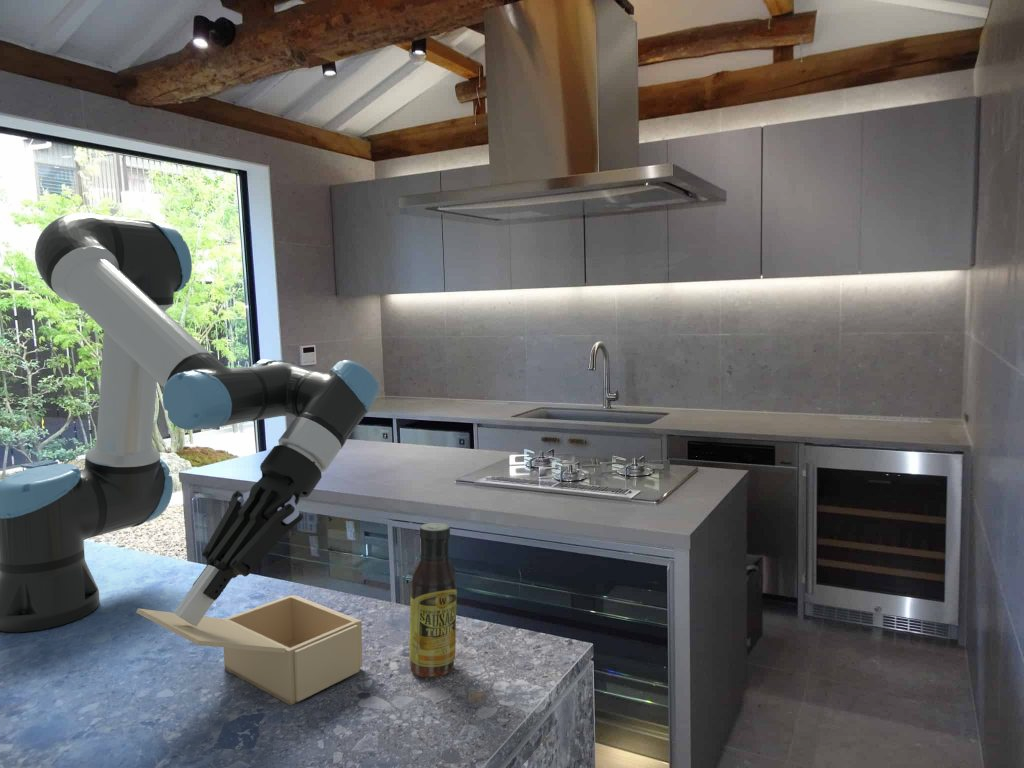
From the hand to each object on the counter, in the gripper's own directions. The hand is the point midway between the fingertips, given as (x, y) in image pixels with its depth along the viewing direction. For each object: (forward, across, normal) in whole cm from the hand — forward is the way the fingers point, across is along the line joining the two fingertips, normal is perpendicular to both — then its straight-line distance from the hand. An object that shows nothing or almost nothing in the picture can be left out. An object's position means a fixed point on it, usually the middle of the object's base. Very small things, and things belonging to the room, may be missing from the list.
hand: (184, 619), depth 85 cm
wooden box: (-2, 0, -19) cm, 19 cm away
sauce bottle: (-10, -15, -28) cm, 33 cm away
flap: (-3, 0, -10) cm, 10 cm away
